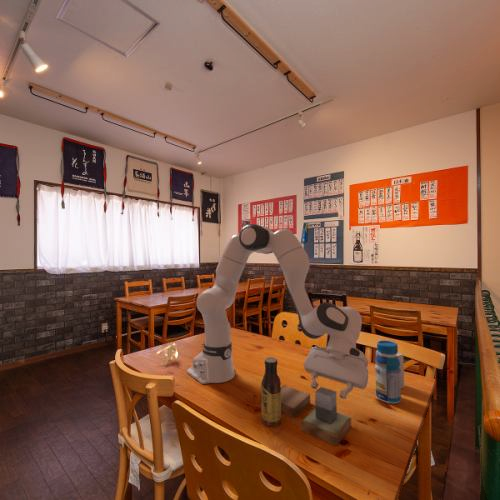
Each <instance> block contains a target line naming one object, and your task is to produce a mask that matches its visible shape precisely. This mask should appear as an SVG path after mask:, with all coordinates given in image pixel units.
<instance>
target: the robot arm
mask: <svg viewBox="0 0 500 500" xmlns="http://www.w3.org/2000/svg"><path fill="white" fill-rule="evenodd" d="M253 253H258V254H265V255H269V254H273V255H274V256H275V259H276V260H277V262H278V265H279V266H280V269H281V271H282V274H283V276H284V281H285V284H286V287H287V290H288V293H289V296H290V298H291V301H292V303H293V305H294V308H295V310H296V313H297V316H298V322H299V323H298V325H299V328H300V330H301V333H303V334H304V335H305V336H306V337H307V338H309V339H313V340H317V339H320V338H321V337H322V336H324V335H326V334H327V335H329V340H328V343H327V345H326V348H325V347H320V346H314V347H311V348H310V350H309V351H308V355H307V356H306V357H305V360H304V362H303V368H304V370H305V372H307V373H309V374H310V375H311V380H312V381H311V384H310V387H311V388H312V389H315V390H318V388H319V383H318V382H317V381H316V379H318V377H322V378H325V379H328V380H331V381H333V382H334V381H335V382H337V383H341V384H343V385H344V384H345V385H346V387H345V388H344V389H343V390H342V389H340V393H339V398H341V399H343V400H347V397H348V394H349V393H350V392H352V391H353V389H354V388H358V389H361V390H364V389H366V388H367V387H368V381H369V370H368V366H369V361H368V358H367V357H366V355H365V353H364V352H363V351H361V350H360V349H358V348H357V341H358V340H359V338H360V334H361V330H362V324H363V320H362V315H361V314H360V312H359V311H358V310H356V309H355V308H353V307H351V306H338V305H335V304H334V303H332V302H328V301H327V302H321V303H320V304H318V305H316V306H314V307H313V305H312V303H311V300H310V298H309V296H308V293H307V291H306V288H305V282H306V278H307V275H308V272H309V270H310V266H311V265H310V264H311V263H310V258H309V256H308V255H309V254H308V253H307V251H306V250H305V249H304V246H303V245H302V243H301V242H300V240H299V239H298V237H297V236H296V234H294V232H293V231H292V230H290V229H288V228H279V229H277V230H276V231H275V230H274V229H271V228H269V227H267V226H262V225H259V224H257V223H249V224H245V225H244V226H243V227H242V228H241V229H240V231H239V233H236V234H232V236H231V237H230V239H229V240H228V242H227V243H226V245H225V248H224V250H223V251H222V254H221V256H220V259H219V261H218V264H217V266H216V269H215V278H214V279H215V280H214V284H213V286H212V287H211V288H206V289H205V290H203V291H202V292H201V293H200V294H199V295H198V297H197V298H196V307H197V310H198V311H199V313H200V314H201V316H202V318H203V324H204V336H205V337H204V339H205V340H204V341H205V342H204V343H201V345H200V346H201V348H202V347H203V349H202V351H200V353H199V354H197V355H196V356H194V358H193V360H192V366H190V367H189V368H188V369H187V370H186V373H187V375H189V376H191V377H192V378H194V379H195V380H196V381H198V382H199V383H200V384H203V385H205V384H221V383H225V382H228V381H231V380H233V379H234V378H235V376H236V373H235V366H234V362H233V354H232V352H233V351H232V350H233V345H232V340H231V324H230V322H229V320H228V317H227V309H228V308H229V307H231V306H232V305H233V303H234V302H235V300H236V295H237V294H236V293H237V290H238V286H239V282H240V279H241V276H242V274H243V272H244V269H245V267H246V265H247V262H248V260H249V257H250V255H251V254H253Z"/></svg>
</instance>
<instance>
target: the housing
mask: <svg viewBox="0 0 500 500" xmlns="http://www.w3.org/2000/svg"><path fill="white" fill-rule="evenodd" d="M314 394H315V395H314V399H315V400H314V401H315V406H314V407H315V408H314V409H315V413H316V418H317V419H319V420H321V421H324V422H326V423H329V424H332V423H333V422H334V421H335V420H336V418H337V413H338V411H337V407H338V406H337V391H335V390H332V389H329V388H326V387H323V386H320V387H318V388H317V389H316V390H315V391H314Z"/></svg>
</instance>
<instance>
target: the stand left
mask: <svg viewBox="0 0 500 500" xmlns="http://www.w3.org/2000/svg"><path fill="white" fill-rule="evenodd" d="M310 404H311V394H310V393H307V392H304V391H301V390H298V389H296V388H293V387H290V386H288V385H281V413H283V414H286V415H287V416H289V417H292V418H295V417H297V415H298V414H300V413H301V412H303V410H304V409H306V407H308V406H309V405H310Z"/></svg>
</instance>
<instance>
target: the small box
mask: <svg viewBox="0 0 500 500" xmlns="http://www.w3.org/2000/svg"><path fill="white" fill-rule="evenodd" d="M378 353H379V352H378V350H377V349H376V350H375V357H376V356H377V354H378ZM396 356H397V357H398V359H399V361H400V366H399V367H400V369H401V374H400V385H401V389H404V388H405V369H404V364H405V363H404V354H402V353H400V352H398V353H397V355H396Z"/></svg>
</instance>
